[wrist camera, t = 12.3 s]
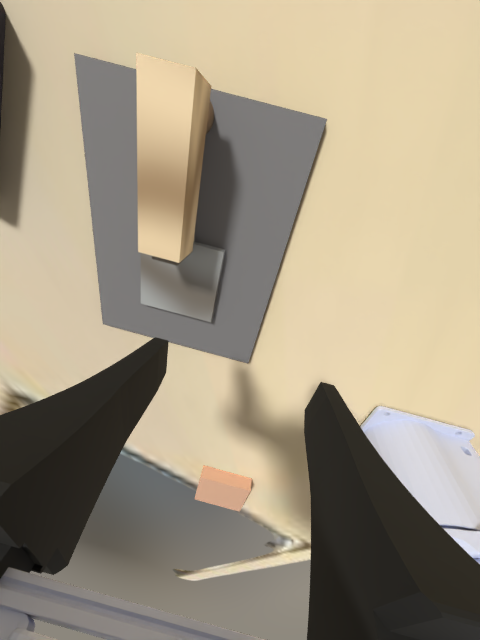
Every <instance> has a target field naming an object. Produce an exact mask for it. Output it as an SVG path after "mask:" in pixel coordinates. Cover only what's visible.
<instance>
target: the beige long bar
mask: <svg viewBox="0 0 480 640" xmlns="http://www.w3.org/2000/svg"><path fill="white" fill-rule="evenodd" d="M136 75H137V185H138V252H140V253H141V304H144V305H148V306H152V307H155V308H159V309H163V310H167V311H170V312H174V313H178V314H181V315H185V316H189V317H193V318H196V319H200V320H204V321H207V322H211V321H212V319H213V313H214V308H215V303H216V298H217V292H218V287H219V282H220V276H221V271H222V266H223V260H224V255H225V249H221V248H217V247H213V246H210V245H206V244H202V243H198V242H195V234H194V233H195V224H196V216H197V207H198V198H199V189H200V181H201V172H202V163H203V154H204V146H205V137H206V134H207V133H208V132H209V131H210V129H211V128H212V125H213V122H214V110H213V106H212V103H211V101H210V93H211V85H210V84H209V83H208V82H207V80H206V79H205V78H204V77H203V76H202V75H201V73H200V72H199V71H198V70H197V69H196V68H194V67H190V66H186V65H182V64H179V63H175V62H171V61H167V60H163V59H159V58H155V57H152V56H148V55H144V54H140V53H136Z"/></svg>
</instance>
